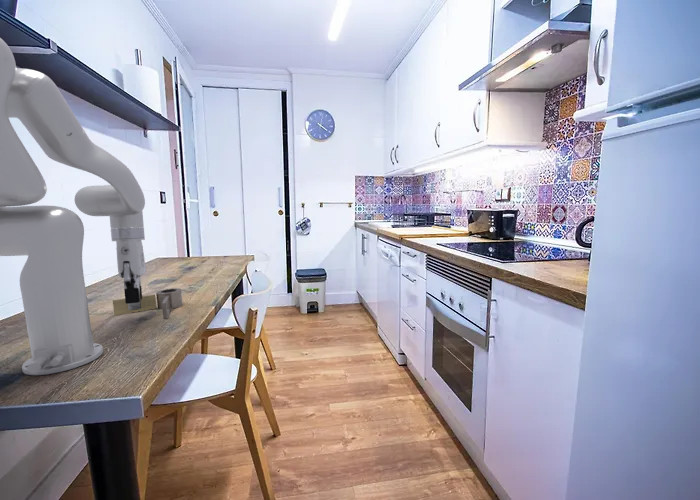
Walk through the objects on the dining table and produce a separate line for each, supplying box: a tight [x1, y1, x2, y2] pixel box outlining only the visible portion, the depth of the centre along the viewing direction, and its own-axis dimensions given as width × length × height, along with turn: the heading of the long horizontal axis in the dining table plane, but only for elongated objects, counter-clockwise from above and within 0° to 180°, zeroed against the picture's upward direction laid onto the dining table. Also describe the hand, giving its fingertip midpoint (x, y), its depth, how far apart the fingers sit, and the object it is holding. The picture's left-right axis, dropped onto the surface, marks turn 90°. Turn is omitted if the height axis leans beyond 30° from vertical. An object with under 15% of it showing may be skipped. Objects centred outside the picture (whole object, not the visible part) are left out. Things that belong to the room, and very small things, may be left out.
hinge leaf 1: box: [112, 293, 158, 316], centre depth 100 cm, size 11×1×4 cm, turn 122°
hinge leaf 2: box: [155, 287, 184, 320], centre depth 100 cm, size 17×7×5 cm, turn 23°
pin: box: [128, 275, 141, 310], centre depth 91 cm, size 4×4×12 cm
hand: (134, 300), depth 91 cm, fingers closed on pin, 3 cm apart
